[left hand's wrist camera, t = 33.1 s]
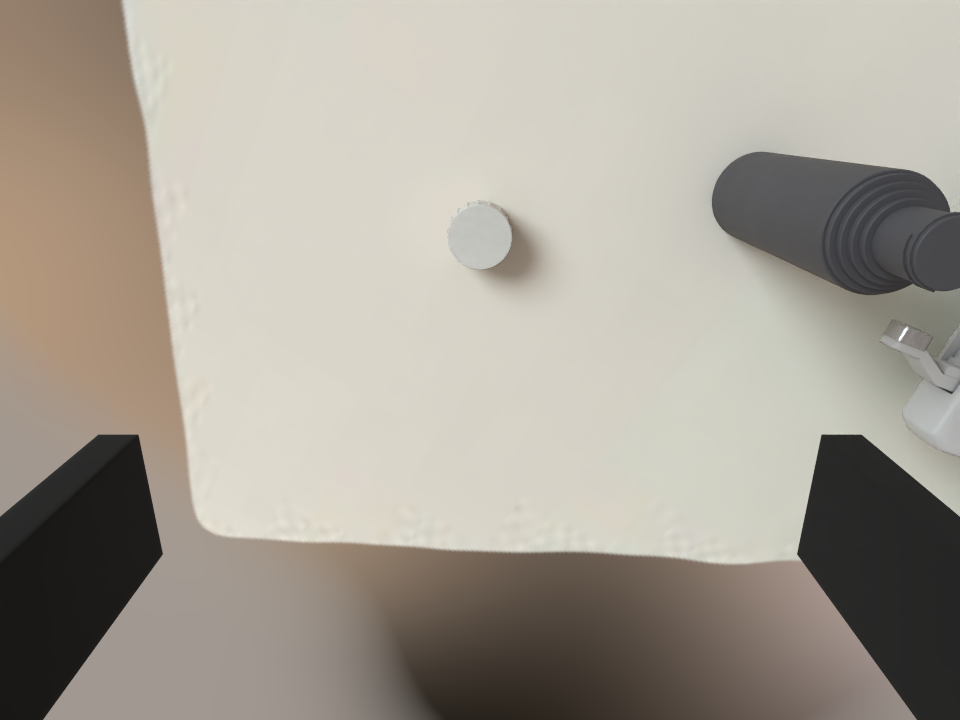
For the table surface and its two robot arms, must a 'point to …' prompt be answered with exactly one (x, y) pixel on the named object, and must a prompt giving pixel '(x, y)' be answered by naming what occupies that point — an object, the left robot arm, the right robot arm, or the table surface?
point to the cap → (479, 235)
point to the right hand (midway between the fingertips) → (937, 258)
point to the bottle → (843, 221)
